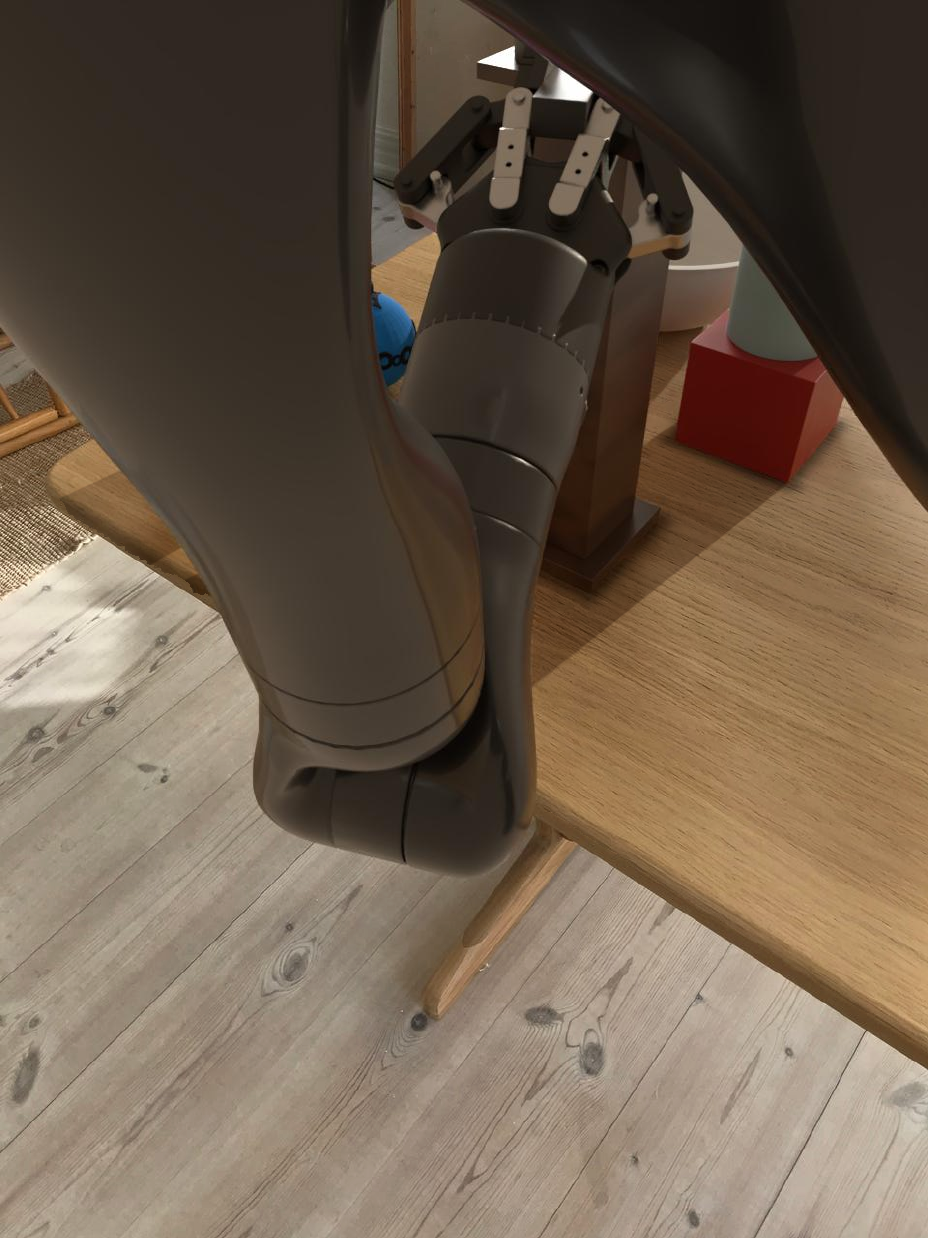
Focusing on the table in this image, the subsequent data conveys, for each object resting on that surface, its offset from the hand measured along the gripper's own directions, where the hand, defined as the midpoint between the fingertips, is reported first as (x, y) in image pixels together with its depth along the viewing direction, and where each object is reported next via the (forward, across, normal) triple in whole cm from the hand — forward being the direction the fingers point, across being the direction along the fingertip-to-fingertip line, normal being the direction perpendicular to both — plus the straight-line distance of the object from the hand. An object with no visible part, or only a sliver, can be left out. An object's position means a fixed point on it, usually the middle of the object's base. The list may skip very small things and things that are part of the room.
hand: (584, 45), depth 46 cm
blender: (+4, -12, +42) cm, 44 cm away
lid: (+2, 0, +4) cm, 4 cm away
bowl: (+21, -1, +52) cm, 56 cm away
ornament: (+2, +21, +41) cm, 46 cm away
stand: (-11, 0, +34) cm, 35 cm away
